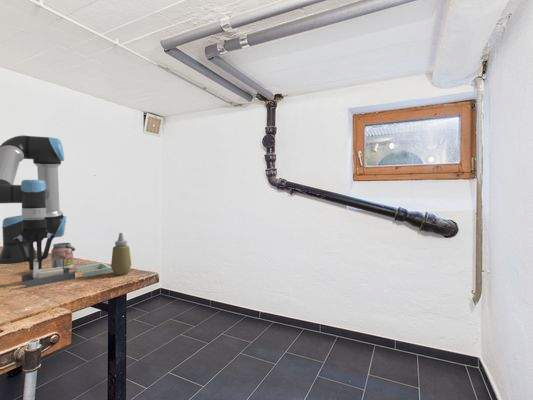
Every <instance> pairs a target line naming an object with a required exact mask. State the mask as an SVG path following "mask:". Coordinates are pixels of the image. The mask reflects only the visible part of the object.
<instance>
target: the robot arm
mask: <svg viewBox="0 0 533 400" xmlns="http://www.w3.org/2000/svg"><path fill="white" fill-rule="evenodd" d="M63 148H64V147H63V144H62V142H61V139H60V138H56V137H50V136H36V135H25V134H24V135H23V134H22V135H17V136H13V137H11V138H8V139H7V140H5V141H4V142H2V143H1V144H0V204H21V215H15V216H8V217H5V218H3V220H2V227H1V229H2V249H1V251H0V264H15V263H17V264H18V263H23V262H25V263H26V262H28V268H29V270H30V271H32V273H33V278H34V279H35V278H39V271H38V270H42V268H43V267H42V265H43V263H42V261H43V260H46V259H48V255H49V252H50V249H51V245H52V241H53V240H54V239H55V238H61V237H64V235H65V230H66V223H67V216H66V215H64V212H63V211H61V210H60V191H59V188H60V187H59V186H60V185H59V167H60V166H61V165H62V162H63V161H65V154H64V153H65V152H64V149H63ZM23 160H32V164H34V165H35V166H36V167H37V179H23V180H21V181H20V182H21V183H20V184H14V182H15V179H16V176H17V172H18V169H19V165H20V162H22V161H23ZM44 239H46V242H45V246H44V250H43V251H42V247H43V246H42V243H43V242H42V241H43V240H44ZM34 243H36V249H35V247H34ZM42 253H43V254H42Z"/></svg>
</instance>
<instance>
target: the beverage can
mask: <svg viewBox="0 0 533 400" xmlns="http://www.w3.org/2000/svg"><path fill="white" fill-rule="evenodd" d="M52 246H53V247H52V249H51V250H50V252H51V255H50V256H51V257H50V258H51V268H57V267H62V268H69V271H70V270H72V269H73V268H74V252H75V251H76V248H75V246H72V244H71V243H70V242H60V243H59V242H58V243H53V245H52Z"/></svg>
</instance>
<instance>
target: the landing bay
mask: <svg viewBox="0 0 533 400" xmlns="http://www.w3.org/2000/svg"><path fill="white" fill-rule="evenodd" d="M90 269H91V270H90ZM84 270H85V271H84ZM78 271H79V272H82V277H83V278H87V277H92V276H97V275H98V276H99V275H102V274H103V275H104V274H108V273H113V270H112V268H111V265H108V264H106V263H104V262H99V263H91V264H86V265H81V266H76V267H75V273H79V272H78Z"/></svg>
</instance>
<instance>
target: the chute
mask: <svg viewBox="0 0 533 400" xmlns="http://www.w3.org/2000/svg"><path fill="white" fill-rule="evenodd" d="M20 277H21V282H22V283H24V288H31V287H37V286H42V285H47V284H52V283H58V282H62V281H68V280H73V279H76V271H72V272H70V270H69V268H63V274H59V275H54V276H48V277H42V278H35V279H34V278H33V272H32V273H27V274H21V276H20Z"/></svg>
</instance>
